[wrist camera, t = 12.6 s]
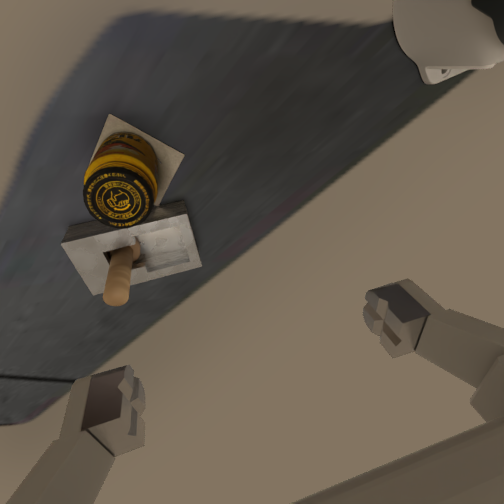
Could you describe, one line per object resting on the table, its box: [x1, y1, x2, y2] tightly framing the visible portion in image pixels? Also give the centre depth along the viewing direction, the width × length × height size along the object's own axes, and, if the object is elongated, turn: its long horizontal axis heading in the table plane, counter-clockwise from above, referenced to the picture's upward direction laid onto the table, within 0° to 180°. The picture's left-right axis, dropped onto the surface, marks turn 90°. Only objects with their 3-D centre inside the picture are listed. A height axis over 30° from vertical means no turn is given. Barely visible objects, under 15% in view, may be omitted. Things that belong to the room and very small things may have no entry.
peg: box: [103, 236, 141, 306], centre depth 34 cm, size 4×4×10 cm
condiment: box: [83, 114, 184, 229], centre depth 28 cm, size 7×8×12 cm
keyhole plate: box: [61, 200, 202, 295], centre depth 37 cm, size 14×8×4 cm, turn 97°
